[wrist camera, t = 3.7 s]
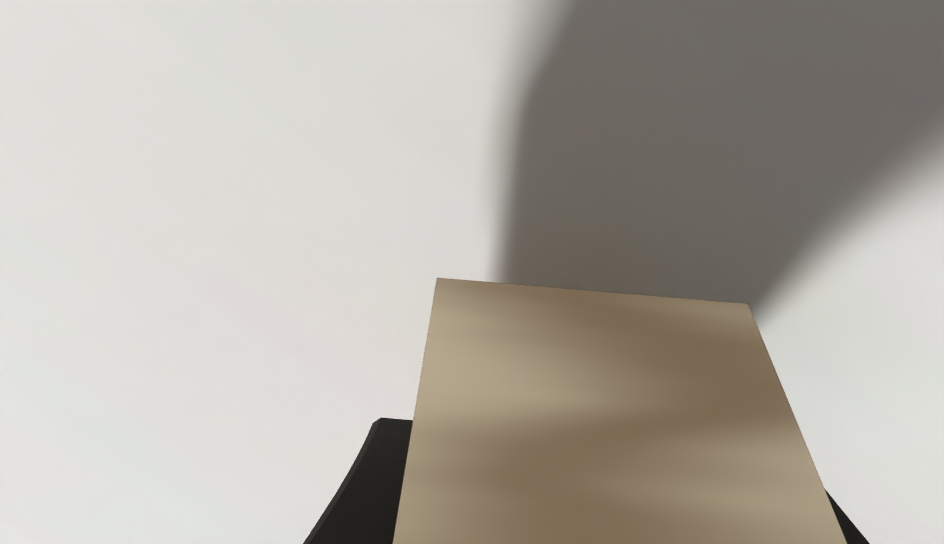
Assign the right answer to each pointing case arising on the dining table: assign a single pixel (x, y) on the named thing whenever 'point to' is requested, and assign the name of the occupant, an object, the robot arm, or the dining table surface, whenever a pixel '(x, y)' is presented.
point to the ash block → (603, 425)
